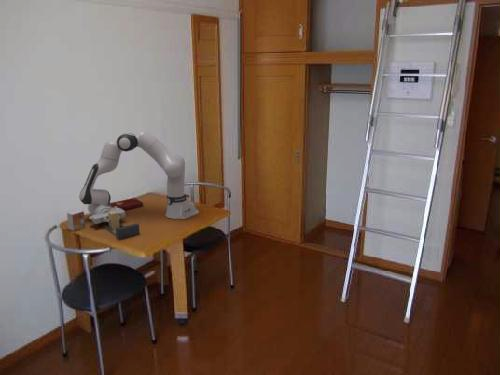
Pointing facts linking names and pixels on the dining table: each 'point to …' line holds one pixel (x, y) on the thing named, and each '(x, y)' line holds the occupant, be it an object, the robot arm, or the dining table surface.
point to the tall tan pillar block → (113, 219)
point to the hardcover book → (127, 204)
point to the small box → (76, 220)
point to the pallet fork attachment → (124, 231)
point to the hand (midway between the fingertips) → (114, 219)
